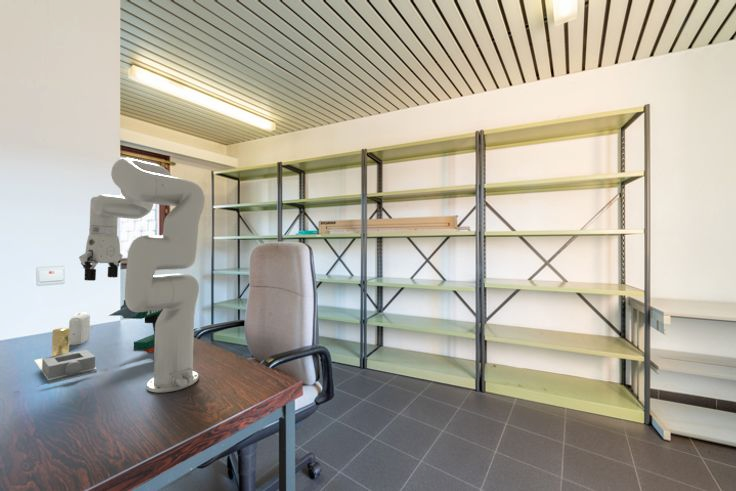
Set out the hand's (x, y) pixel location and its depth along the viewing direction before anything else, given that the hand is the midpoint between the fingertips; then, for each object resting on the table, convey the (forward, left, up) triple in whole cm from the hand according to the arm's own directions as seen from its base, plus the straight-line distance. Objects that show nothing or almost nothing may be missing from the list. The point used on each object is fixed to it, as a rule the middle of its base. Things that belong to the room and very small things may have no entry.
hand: (101, 278), depth 108 cm
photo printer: (+20, +2, -27) cm, 34 cm away
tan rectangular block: (-1, +10, -26) cm, 28 cm away
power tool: (-8, -11, -27) cm, 31 cm away
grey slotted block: (-7, +10, -27) cm, 30 cm away
